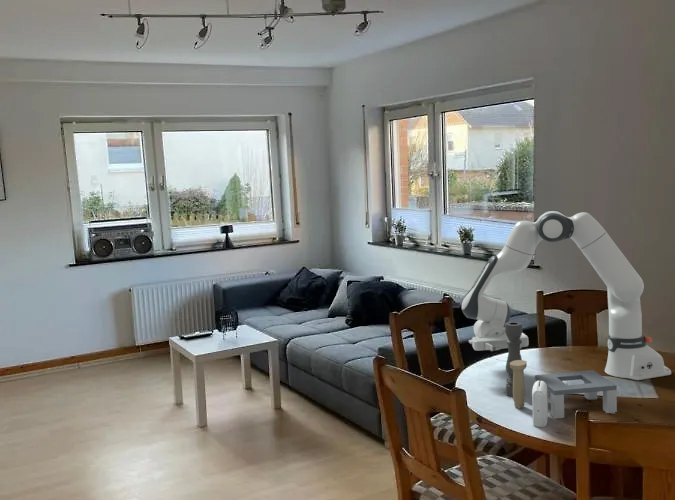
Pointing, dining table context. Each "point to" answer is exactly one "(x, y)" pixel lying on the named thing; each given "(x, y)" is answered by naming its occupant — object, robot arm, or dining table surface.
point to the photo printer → (540, 404)
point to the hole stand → (579, 389)
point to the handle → (518, 382)
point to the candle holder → (512, 350)
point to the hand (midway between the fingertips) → (506, 347)
